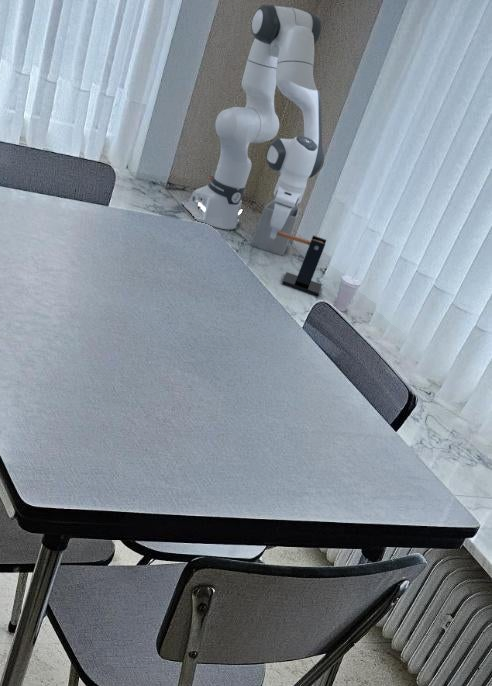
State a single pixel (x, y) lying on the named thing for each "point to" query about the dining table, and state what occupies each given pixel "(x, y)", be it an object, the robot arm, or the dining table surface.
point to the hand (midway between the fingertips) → (273, 234)
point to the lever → (294, 238)
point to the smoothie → (346, 291)
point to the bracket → (307, 269)
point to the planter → (264, 230)
